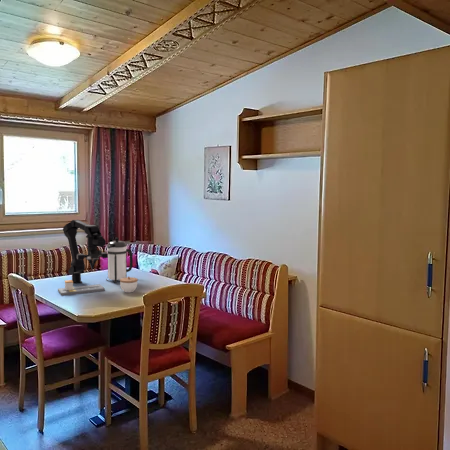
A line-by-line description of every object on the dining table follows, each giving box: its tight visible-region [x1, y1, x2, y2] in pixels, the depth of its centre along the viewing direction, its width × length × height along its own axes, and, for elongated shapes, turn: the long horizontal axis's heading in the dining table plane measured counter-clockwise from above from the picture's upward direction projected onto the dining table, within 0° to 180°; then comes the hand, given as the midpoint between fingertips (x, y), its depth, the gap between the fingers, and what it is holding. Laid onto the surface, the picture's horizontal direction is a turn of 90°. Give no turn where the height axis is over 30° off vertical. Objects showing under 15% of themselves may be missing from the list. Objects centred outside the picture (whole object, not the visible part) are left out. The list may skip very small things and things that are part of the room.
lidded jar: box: [119, 276, 139, 293], centre depth 285 cm, size 11×11×9 cm
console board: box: [57, 283, 106, 296], centre depth 285 cm, size 12×26×2 cm, turn 120°
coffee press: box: [106, 237, 134, 284], centre depth 313 cm, size 17×16×30 cm
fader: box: [64, 279, 74, 290], centre depth 281 cm, size 4×4×5 cm
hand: (92, 269), depth 294 cm, fingers closed
